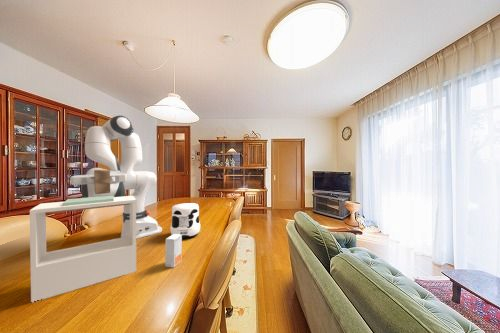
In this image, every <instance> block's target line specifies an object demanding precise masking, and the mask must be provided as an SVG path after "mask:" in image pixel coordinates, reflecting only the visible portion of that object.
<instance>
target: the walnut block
mask: <svg viewBox="0 0 500 333" xmlns="http://www.w3.org/2000/svg"><path fill="white" fill-rule="evenodd" d="M110 170H111V169H106V170H94V179H95V183H94V185H95V194H104V193H110Z"/></svg>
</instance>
